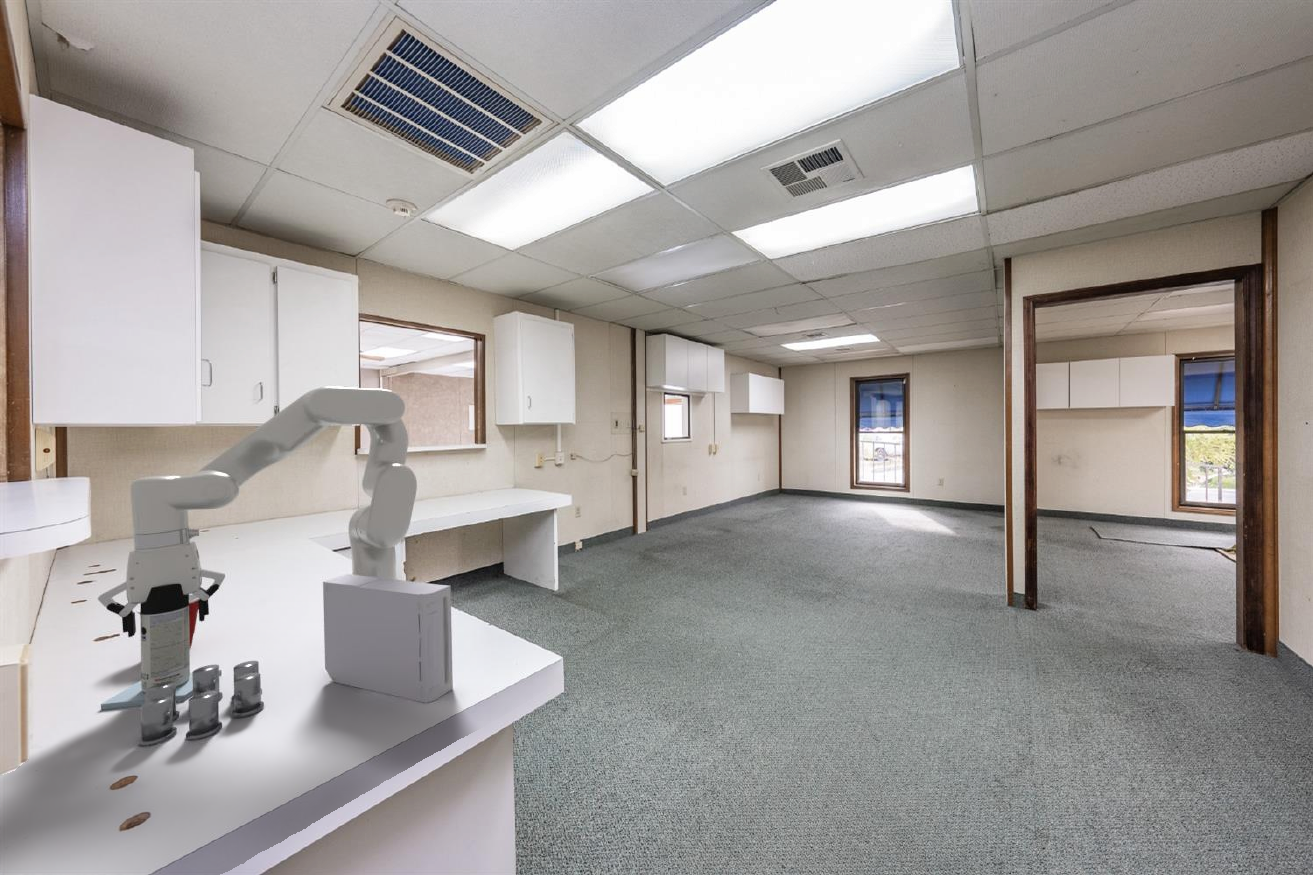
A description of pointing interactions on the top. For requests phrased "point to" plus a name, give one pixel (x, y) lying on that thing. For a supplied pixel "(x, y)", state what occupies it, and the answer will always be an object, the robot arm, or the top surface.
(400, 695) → the game console
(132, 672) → the top surface
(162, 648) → the spray can
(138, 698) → the pad
